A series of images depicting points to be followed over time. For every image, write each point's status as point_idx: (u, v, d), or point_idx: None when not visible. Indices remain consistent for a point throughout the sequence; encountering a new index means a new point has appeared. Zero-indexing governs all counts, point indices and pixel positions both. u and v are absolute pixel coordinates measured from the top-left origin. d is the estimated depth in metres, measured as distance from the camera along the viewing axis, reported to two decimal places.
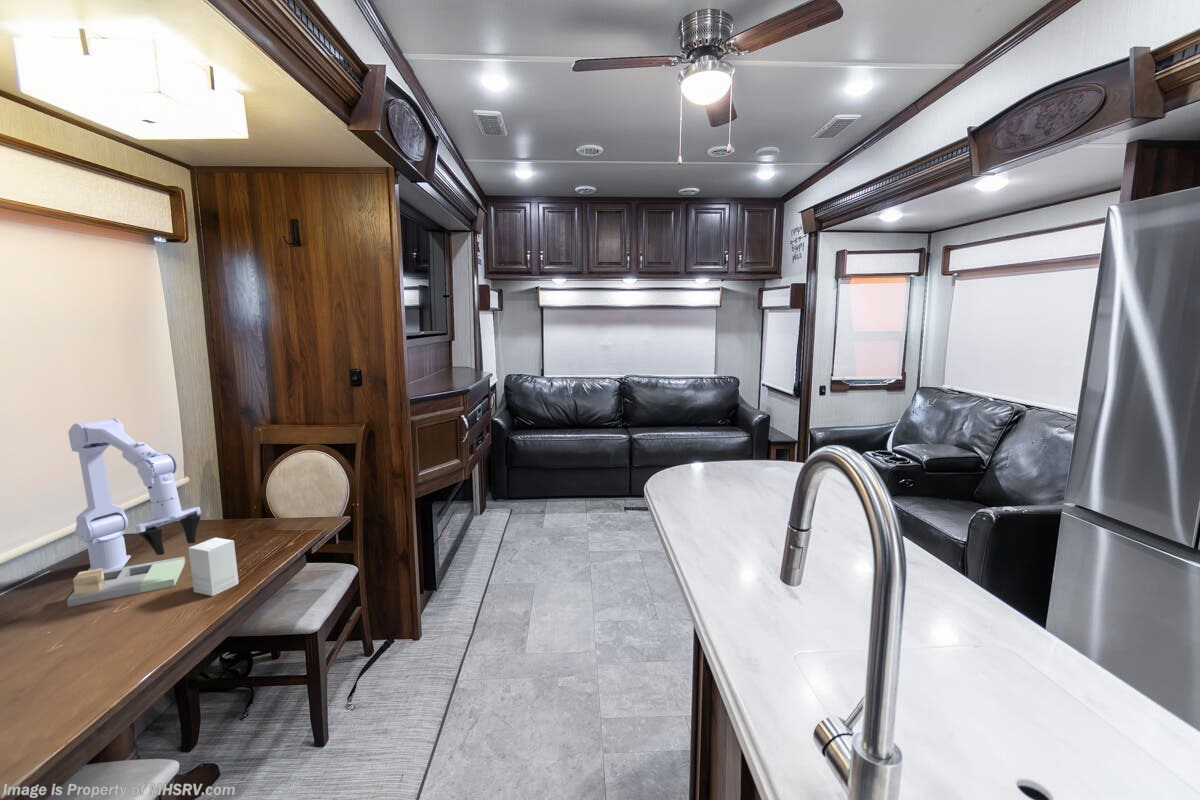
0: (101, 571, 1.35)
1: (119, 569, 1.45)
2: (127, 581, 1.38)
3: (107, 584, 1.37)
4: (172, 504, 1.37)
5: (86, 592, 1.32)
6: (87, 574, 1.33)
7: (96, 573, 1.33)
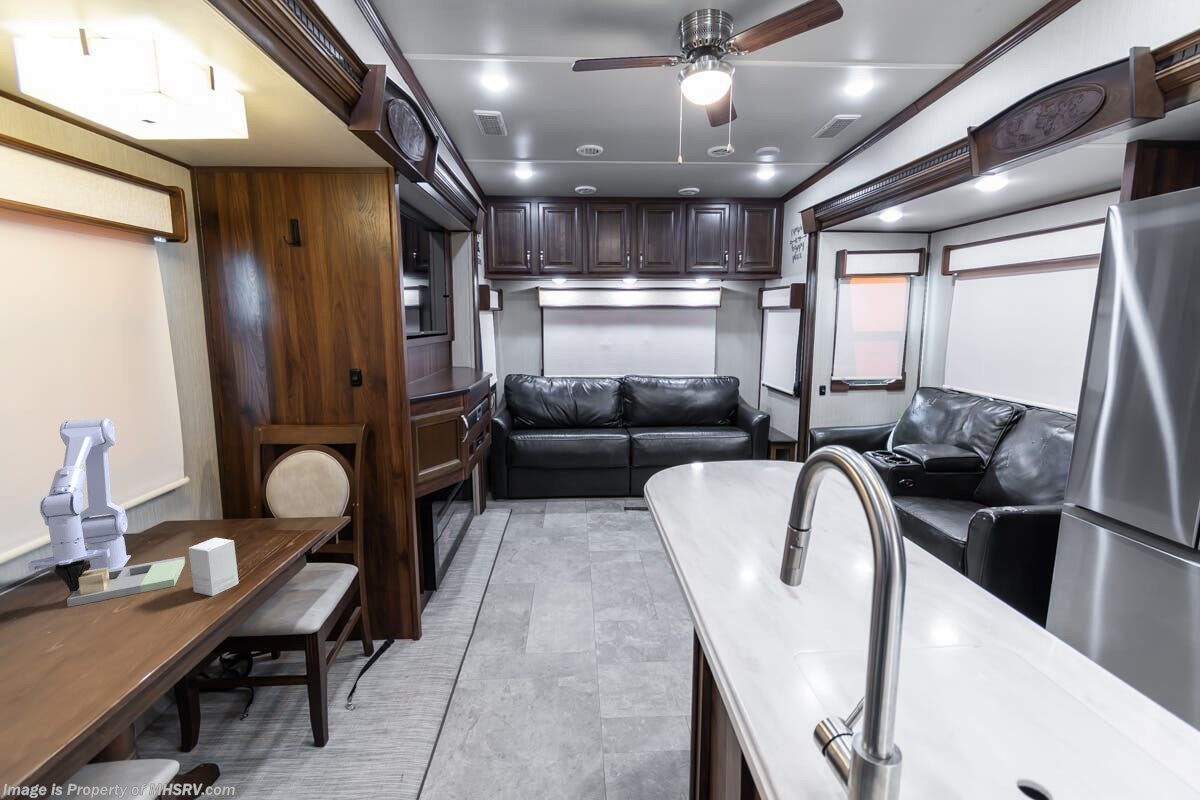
0: (106, 570, 1.36)
1: (119, 569, 1.45)
2: (127, 581, 1.38)
3: None
4: (63, 548, 1.28)
5: (91, 591, 1.32)
6: (93, 573, 1.33)
7: (101, 572, 1.34)
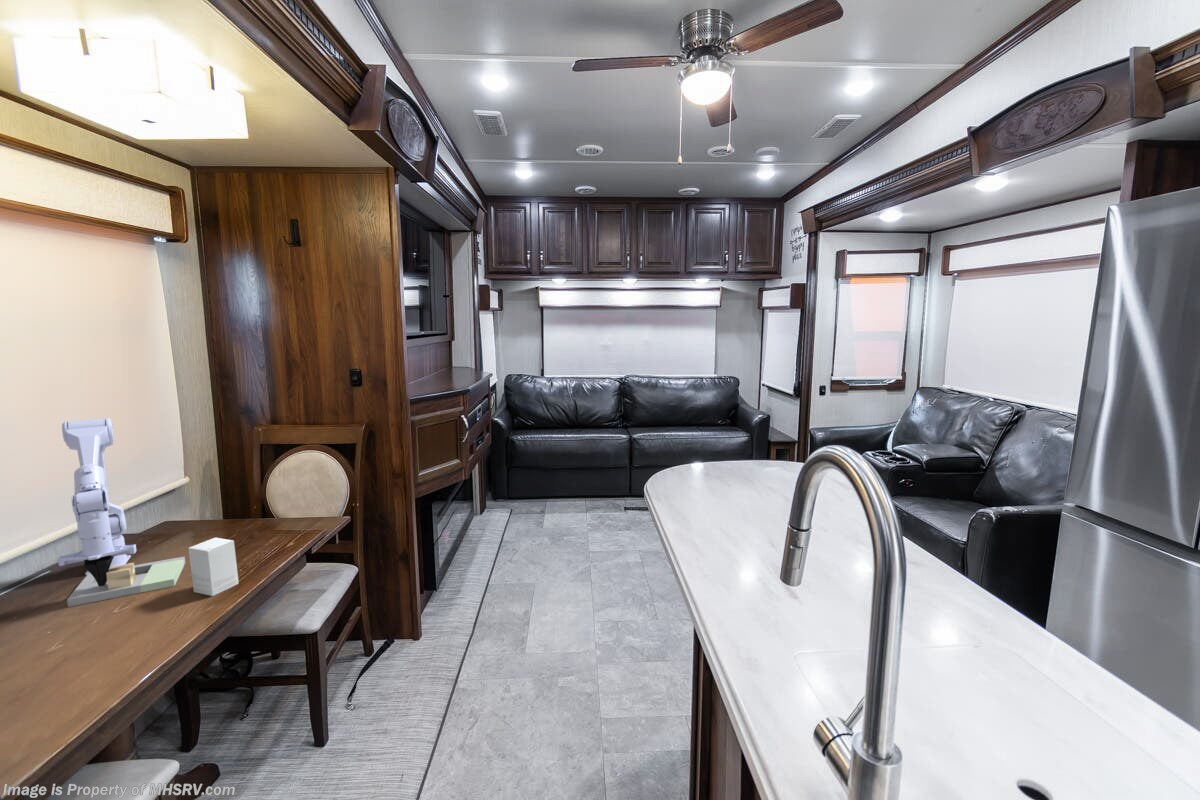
0: (132, 566, 1.38)
1: None
2: None
3: (107, 584, 1.37)
4: (92, 544, 1.30)
5: (118, 586, 1.35)
6: (120, 568, 1.36)
7: (128, 567, 1.36)
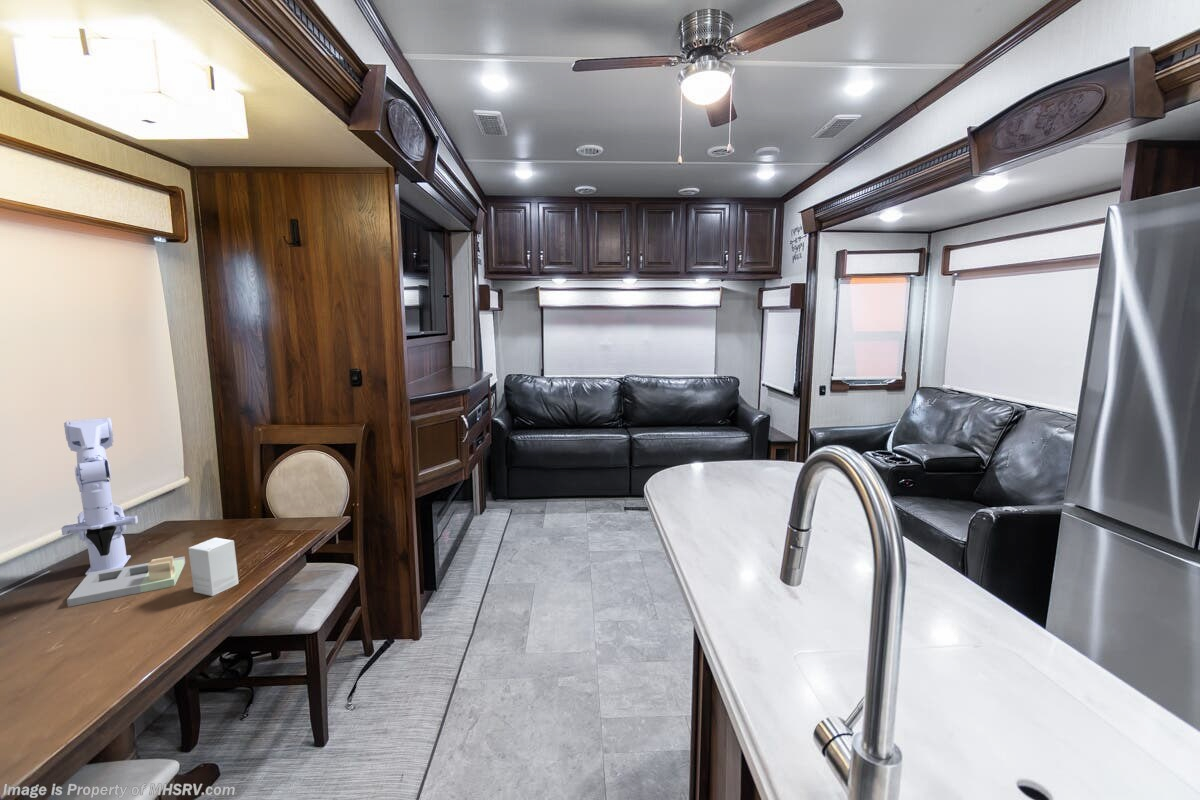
0: (172, 559, 1.42)
1: (119, 569, 1.45)
2: (127, 581, 1.38)
3: (107, 584, 1.37)
4: (94, 513, 1.33)
5: (159, 578, 1.39)
6: (160, 561, 1.40)
7: (168, 560, 1.40)
